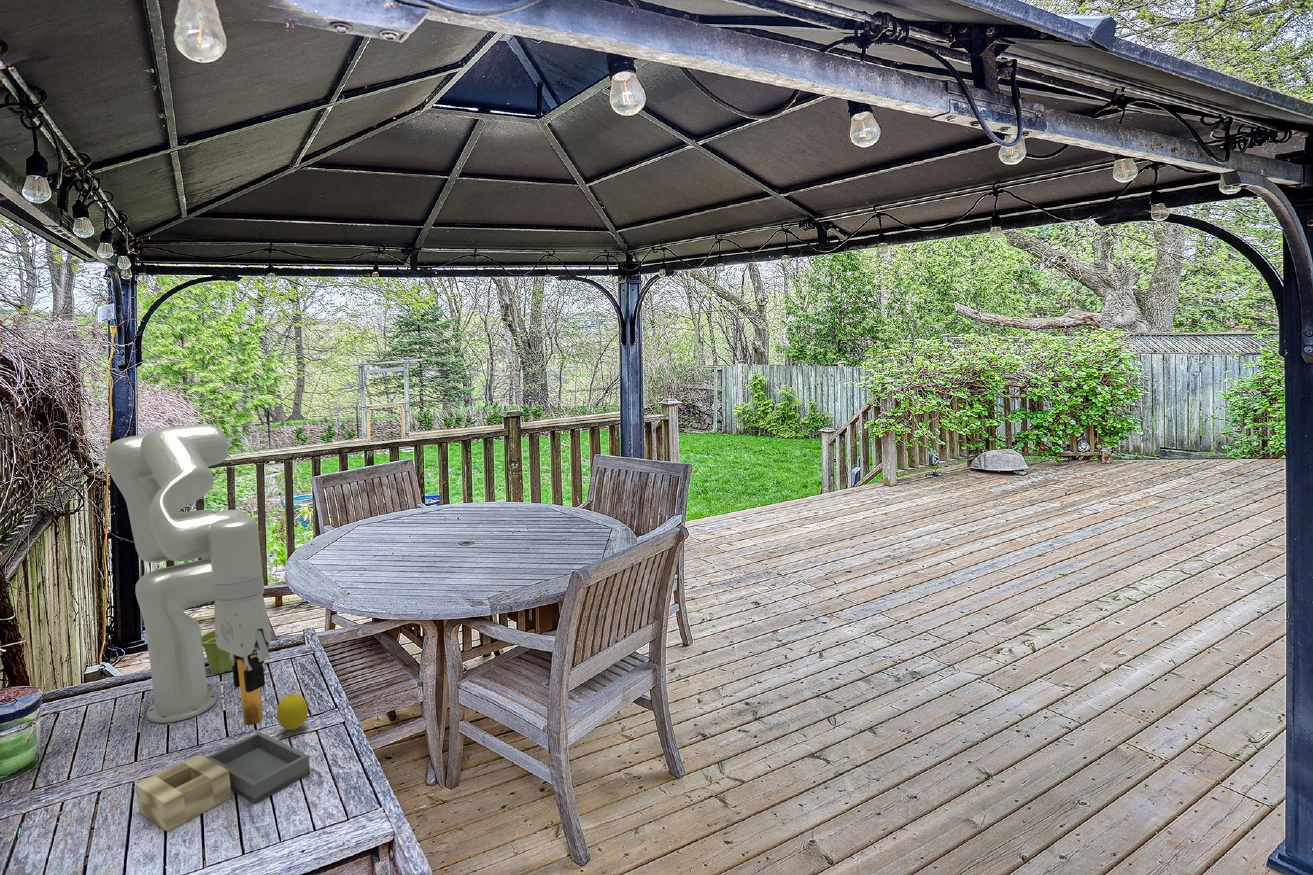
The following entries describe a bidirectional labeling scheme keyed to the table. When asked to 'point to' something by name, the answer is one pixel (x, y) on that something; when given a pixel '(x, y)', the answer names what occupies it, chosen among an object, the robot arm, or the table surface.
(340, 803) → the table surface
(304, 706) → the lemon
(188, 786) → the pin block
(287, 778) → the tray
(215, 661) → the plant pot
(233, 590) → the robot arm
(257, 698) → the pin
